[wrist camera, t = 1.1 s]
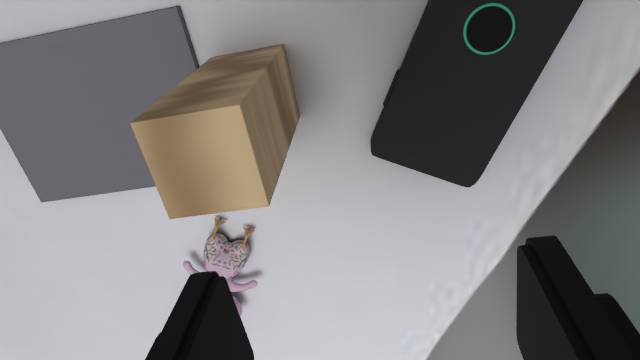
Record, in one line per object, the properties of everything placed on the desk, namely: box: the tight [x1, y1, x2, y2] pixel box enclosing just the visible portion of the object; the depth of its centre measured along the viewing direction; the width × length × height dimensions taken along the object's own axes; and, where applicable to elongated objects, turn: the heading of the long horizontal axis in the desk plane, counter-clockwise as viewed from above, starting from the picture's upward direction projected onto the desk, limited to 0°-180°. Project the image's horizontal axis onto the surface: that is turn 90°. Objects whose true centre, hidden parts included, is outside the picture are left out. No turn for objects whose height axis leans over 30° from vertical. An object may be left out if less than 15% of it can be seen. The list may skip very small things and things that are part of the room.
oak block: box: [130, 44, 300, 219], centre depth 26 cm, size 5×5×12 cm
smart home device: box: [371, 0, 583, 187], centre depth 27 cm, size 8×2×20 cm
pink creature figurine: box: [183, 216, 257, 315], centre depth 37 cm, size 6×6×15 cm
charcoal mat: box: [0, 6, 199, 202], centre depth 32 cm, size 16×12×1 cm
